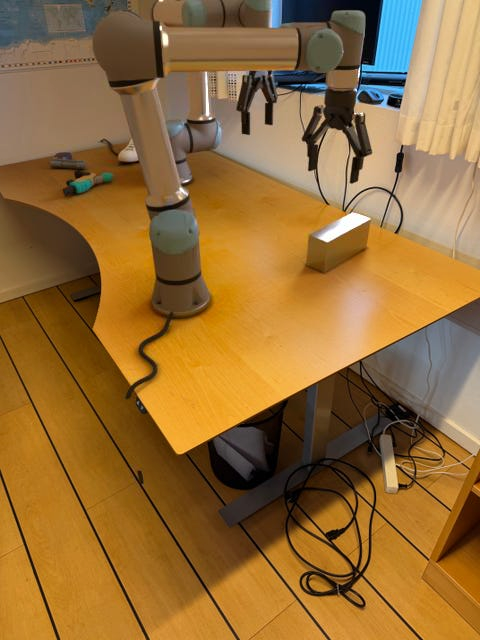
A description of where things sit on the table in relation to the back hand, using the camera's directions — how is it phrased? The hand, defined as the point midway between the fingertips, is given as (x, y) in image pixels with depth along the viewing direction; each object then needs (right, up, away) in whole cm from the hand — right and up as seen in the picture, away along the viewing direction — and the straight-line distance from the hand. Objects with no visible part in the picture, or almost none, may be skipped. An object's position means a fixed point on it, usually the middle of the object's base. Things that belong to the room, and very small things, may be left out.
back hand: (257, 129), depth 152 cm
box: (+24, -42, -7) cm, 49 cm away
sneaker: (-55, +17, +75) cm, 94 cm away
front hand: (+19, -23, -27) cm, 40 cm away
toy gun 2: (-71, -7, +43) cm, 83 cm away
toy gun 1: (-83, +10, +66) cm, 106 cm away
